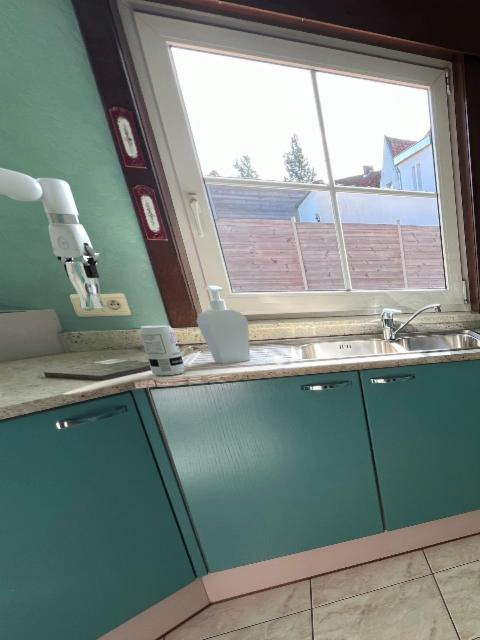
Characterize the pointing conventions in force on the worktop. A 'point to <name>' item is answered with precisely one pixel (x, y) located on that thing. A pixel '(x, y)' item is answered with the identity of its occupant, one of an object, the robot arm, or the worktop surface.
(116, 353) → the worktop surface
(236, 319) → the soap bottle
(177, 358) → the supplement can
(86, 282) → the beer glass
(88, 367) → the grid board
